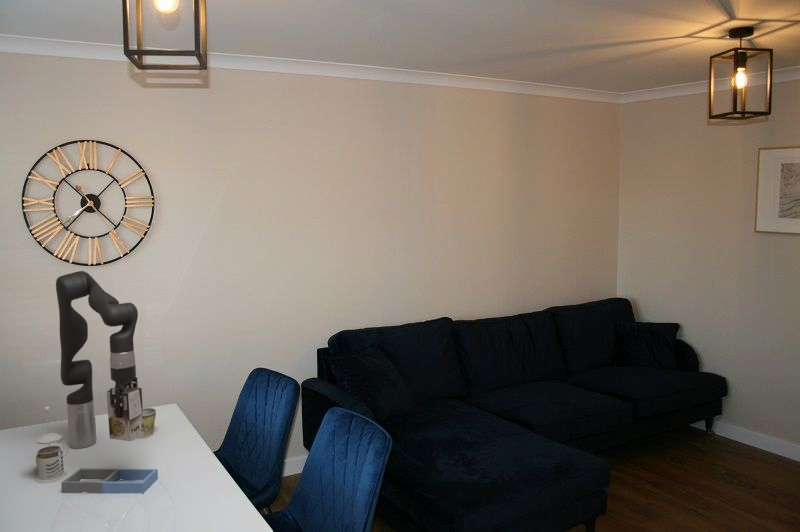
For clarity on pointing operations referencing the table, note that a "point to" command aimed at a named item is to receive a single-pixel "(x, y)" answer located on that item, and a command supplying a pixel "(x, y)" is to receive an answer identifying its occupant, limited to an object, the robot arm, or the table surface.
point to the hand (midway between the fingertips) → (125, 413)
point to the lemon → (42, 457)
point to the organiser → (109, 480)
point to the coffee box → (127, 416)
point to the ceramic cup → (148, 421)
